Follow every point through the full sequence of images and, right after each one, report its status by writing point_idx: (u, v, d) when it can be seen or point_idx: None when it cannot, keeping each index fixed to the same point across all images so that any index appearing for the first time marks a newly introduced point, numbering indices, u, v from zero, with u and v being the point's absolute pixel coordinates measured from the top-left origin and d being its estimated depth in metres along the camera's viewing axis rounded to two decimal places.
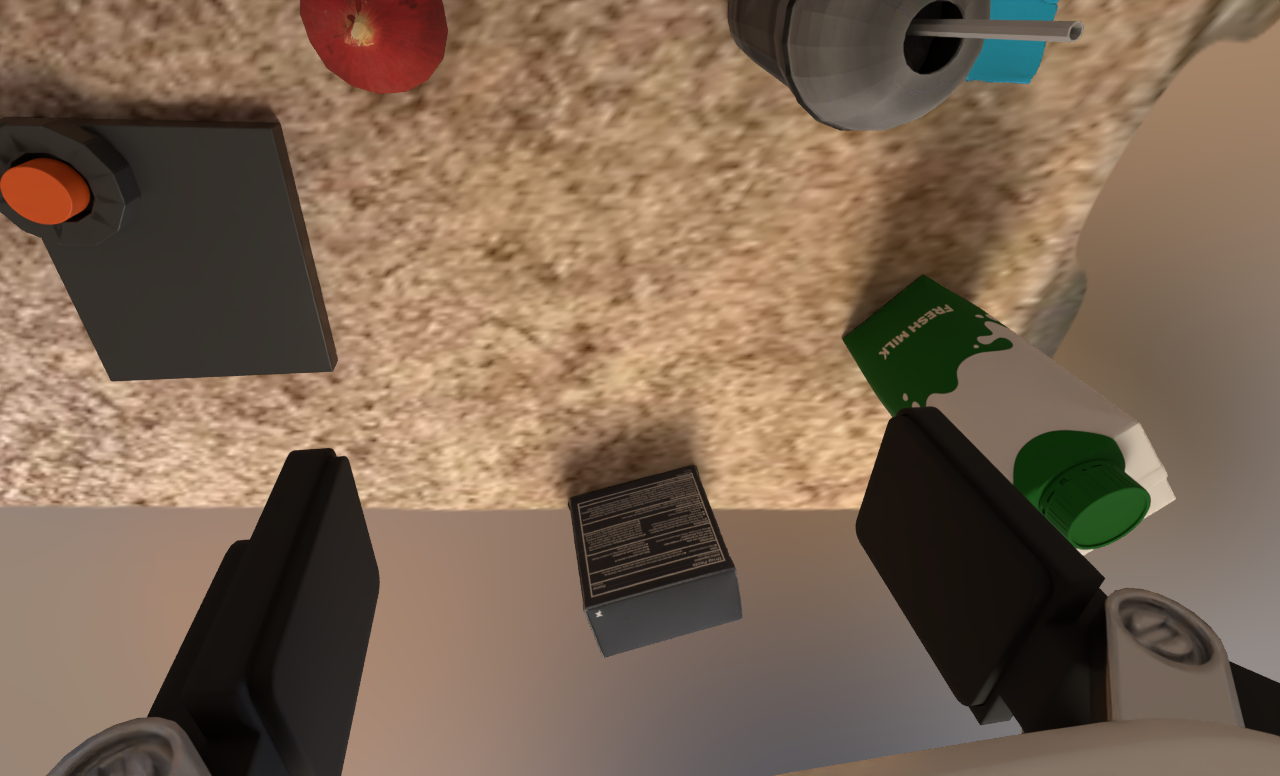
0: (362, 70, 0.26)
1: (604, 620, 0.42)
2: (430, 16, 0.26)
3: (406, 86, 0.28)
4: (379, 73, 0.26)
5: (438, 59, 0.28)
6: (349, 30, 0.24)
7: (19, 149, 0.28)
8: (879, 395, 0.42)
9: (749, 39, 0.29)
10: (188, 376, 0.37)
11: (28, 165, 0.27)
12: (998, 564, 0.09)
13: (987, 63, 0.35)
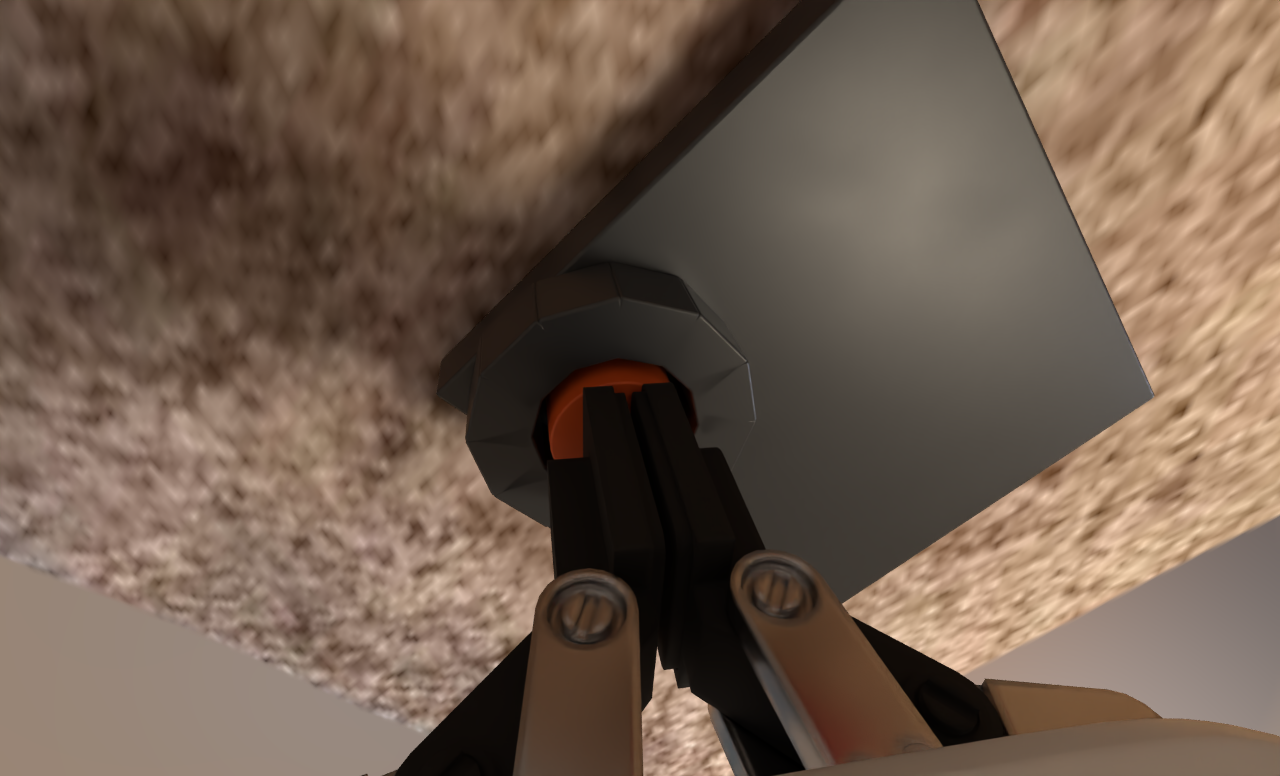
0: None
1: None
2: None
3: None
4: None
5: None
6: None
7: (529, 401, 0.11)
8: None
9: None
10: (905, 559, 0.19)
11: (574, 392, 0.11)
12: (666, 529, 0.09)
13: None
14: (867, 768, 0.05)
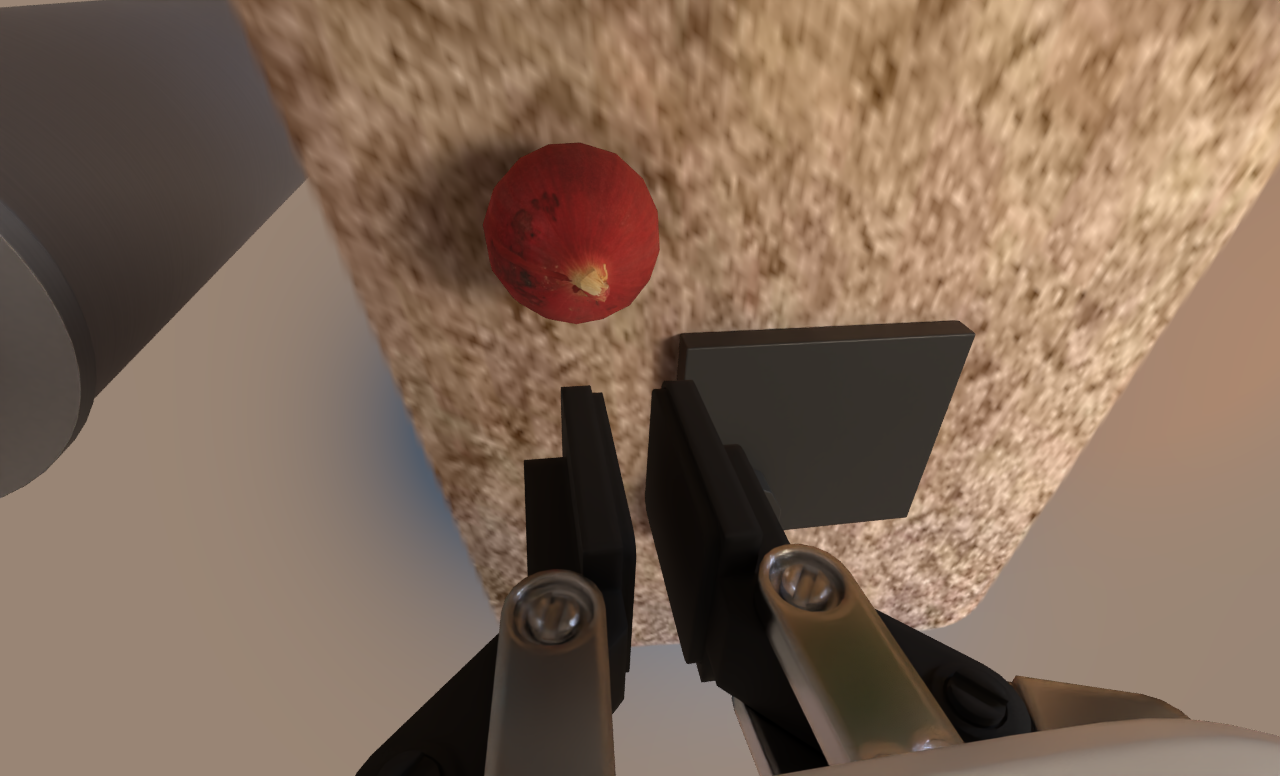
0: (634, 275, 0.20)
1: None
2: (566, 175, 0.18)
3: (652, 215, 0.20)
4: (638, 255, 0.19)
5: (618, 165, 0.19)
6: (591, 296, 0.18)
7: None
8: None
9: None
10: (925, 463, 0.34)
11: None
12: (692, 524, 0.09)
13: None
14: (867, 768, 0.05)
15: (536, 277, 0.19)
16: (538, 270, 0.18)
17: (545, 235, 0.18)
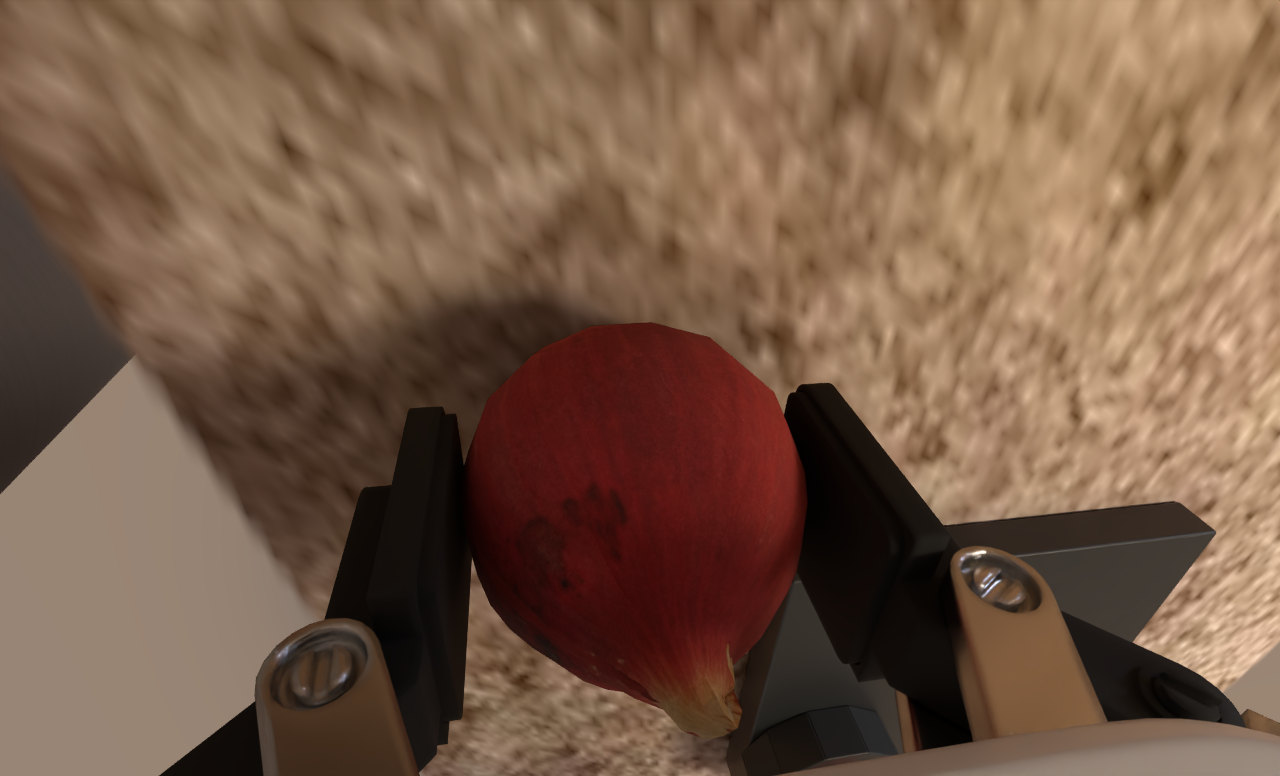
0: (772, 616, 0.09)
1: None
2: (640, 441, 0.08)
3: (801, 478, 0.10)
4: (783, 584, 0.09)
5: (741, 392, 0.09)
6: (701, 734, 0.08)
7: None
8: None
9: None
10: None
11: None
12: (864, 526, 0.09)
13: None
14: (867, 768, 0.05)
15: (572, 659, 0.08)
16: (578, 653, 0.08)
17: (596, 589, 0.08)
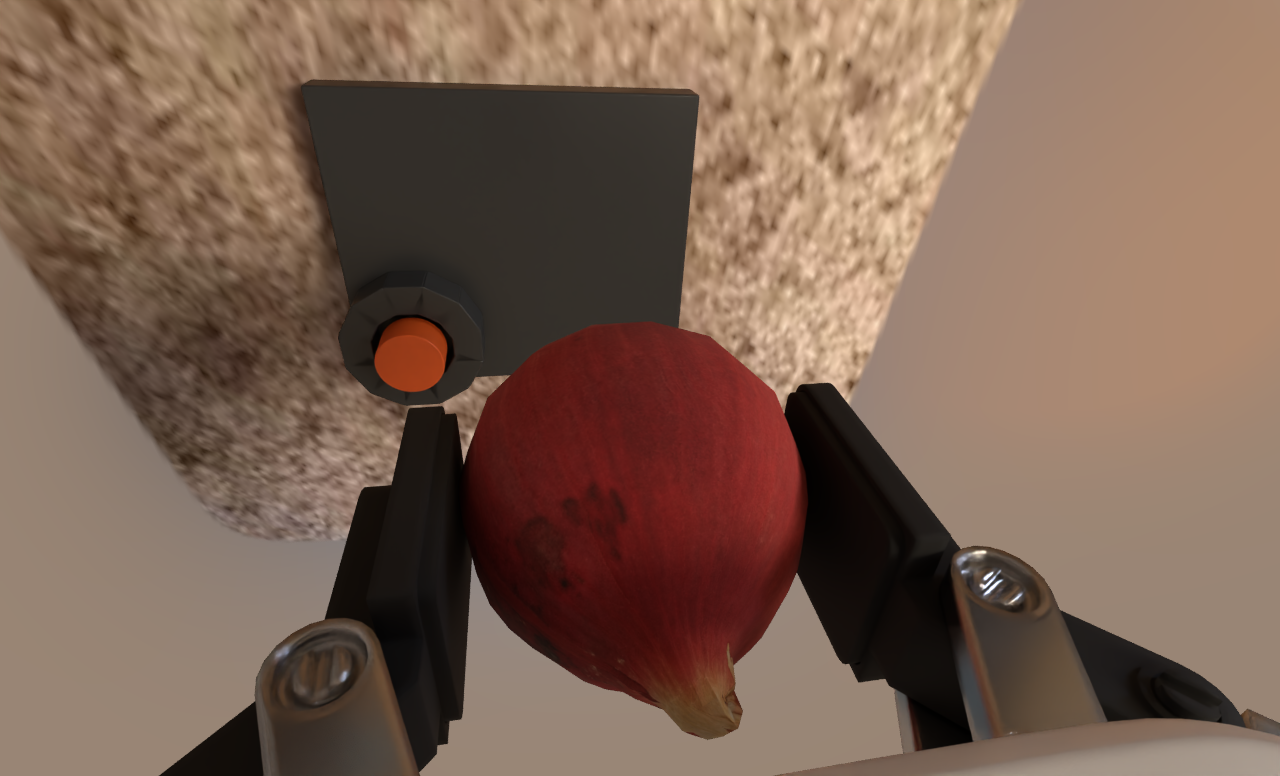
0: (773, 616, 0.09)
1: None
2: (640, 439, 0.08)
3: (802, 477, 0.10)
4: (783, 584, 0.09)
5: (742, 391, 0.09)
6: (701, 735, 0.08)
7: (371, 363, 0.26)
8: None
9: None
10: (679, 288, 0.28)
11: (374, 361, 0.24)
12: (864, 526, 0.09)
13: None
14: (867, 768, 0.05)
15: (572, 658, 0.08)
16: (578, 654, 0.08)
17: (595, 588, 0.08)
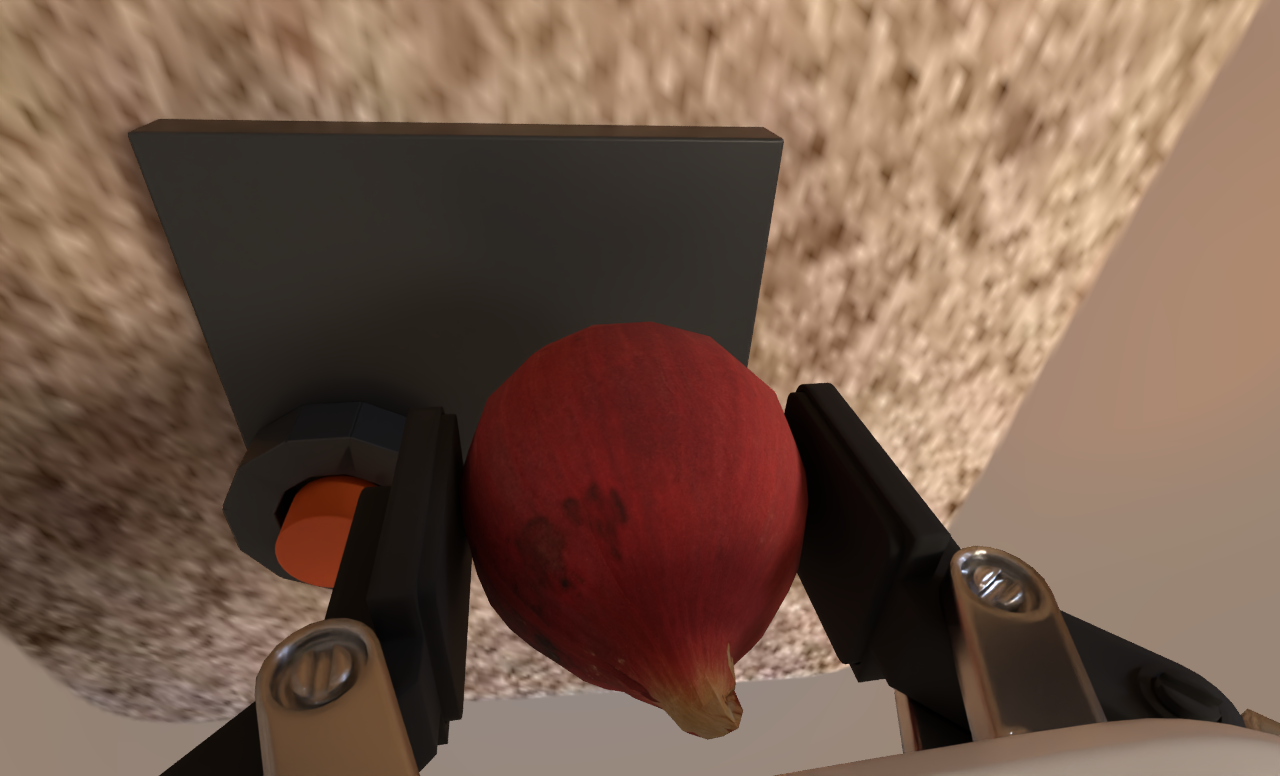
0: (773, 616, 0.09)
1: None
2: (640, 440, 0.08)
3: (802, 477, 0.10)
4: (783, 583, 0.09)
5: (742, 392, 0.09)
6: (701, 734, 0.08)
7: None
8: None
9: None
10: None
11: None
12: (864, 526, 0.09)
13: None
14: (867, 768, 0.05)
15: (572, 658, 0.08)
16: (579, 653, 0.08)
17: (596, 588, 0.08)
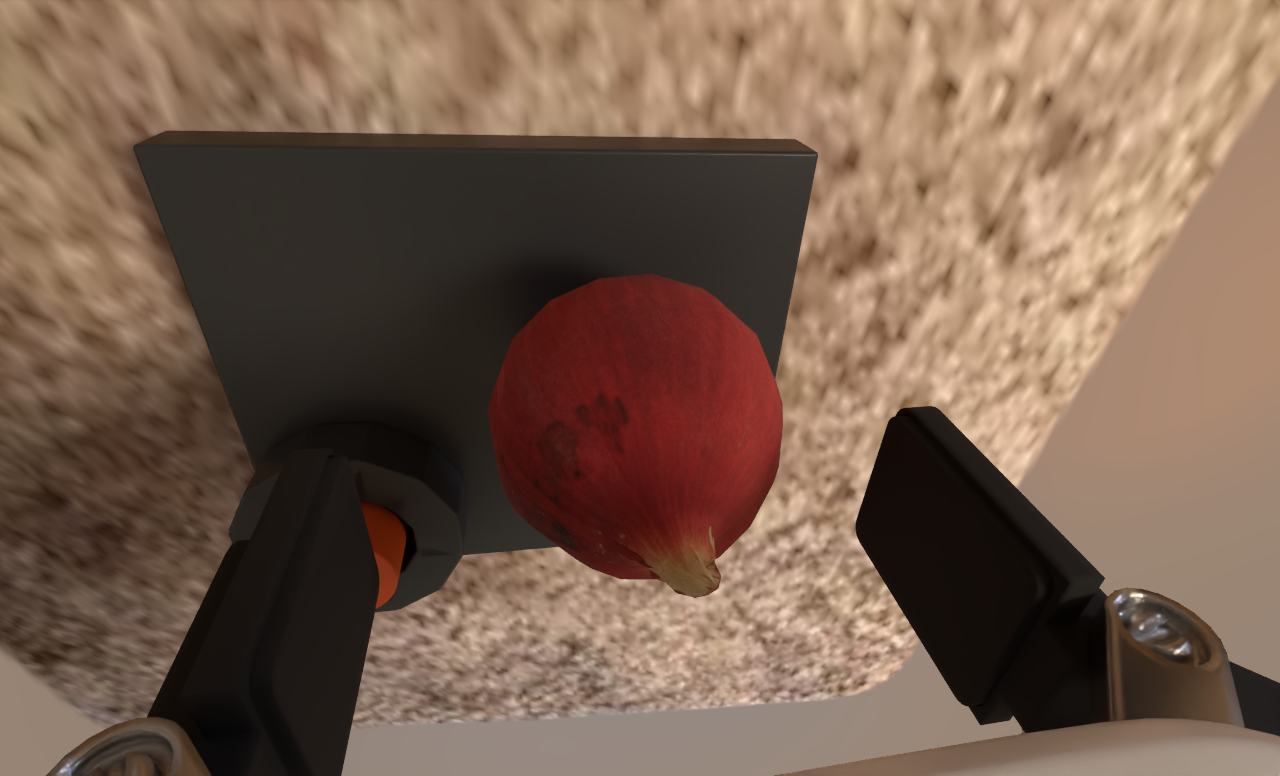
0: (751, 517, 0.11)
1: None
2: (640, 360, 0.10)
3: (778, 404, 0.12)
4: (759, 487, 0.11)
5: (726, 327, 0.11)
6: (687, 595, 0.10)
7: None
8: None
9: None
10: None
11: None
12: (998, 564, 0.09)
13: None
14: (867, 768, 0.05)
15: (582, 540, 0.10)
16: (588, 533, 0.10)
17: (602, 476, 0.10)
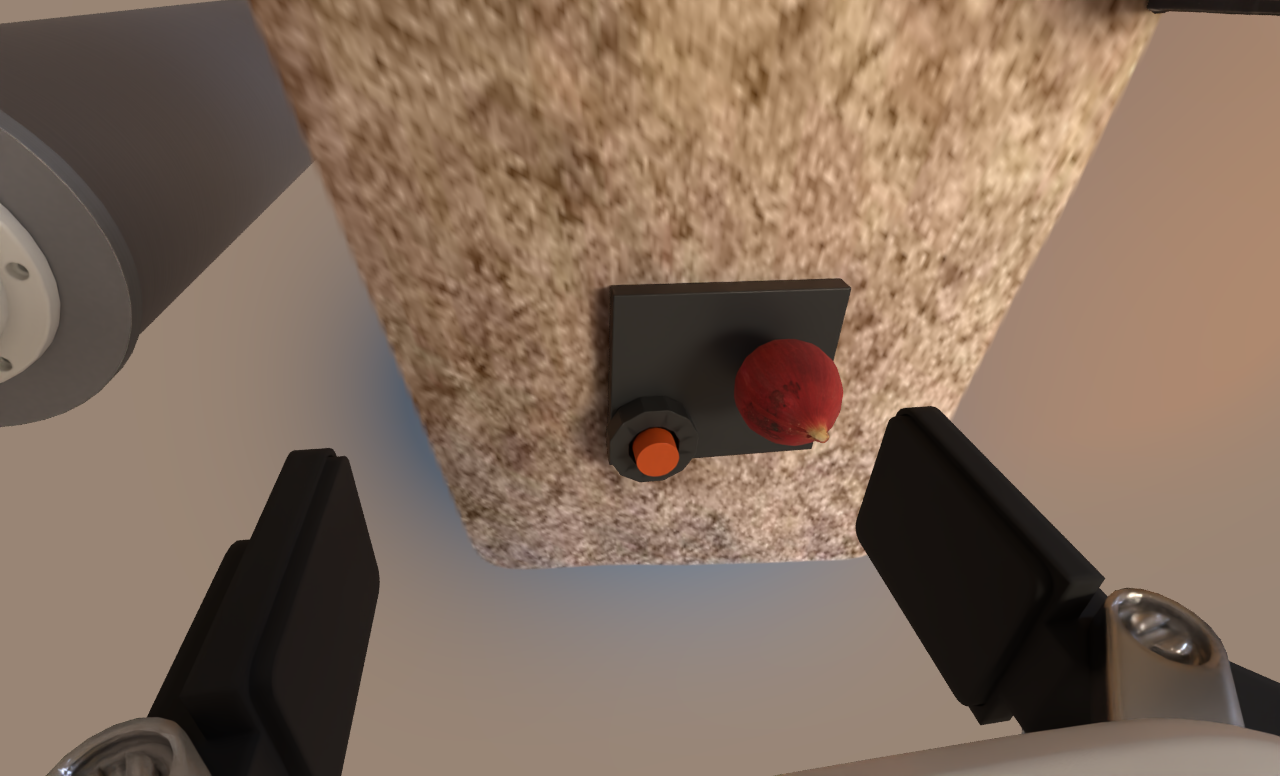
0: (833, 422, 0.34)
1: None
2: (802, 370, 0.32)
3: (841, 384, 0.34)
4: (837, 411, 0.33)
5: (825, 359, 0.33)
6: (819, 441, 0.32)
7: (626, 457, 0.38)
8: None
9: None
10: None
11: (636, 458, 0.37)
12: (998, 564, 0.09)
13: None
14: (867, 768, 0.05)
15: (783, 427, 0.33)
16: (786, 424, 0.32)
17: (793, 406, 0.32)
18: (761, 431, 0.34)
